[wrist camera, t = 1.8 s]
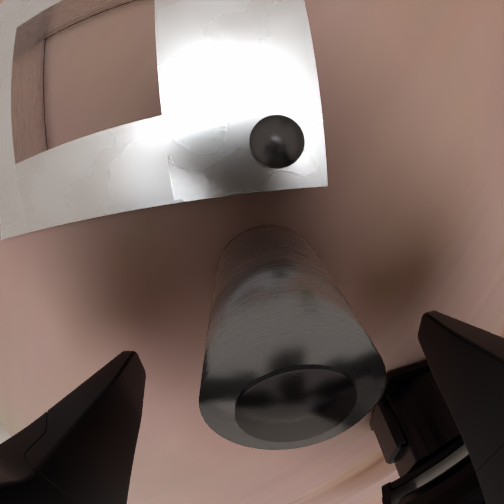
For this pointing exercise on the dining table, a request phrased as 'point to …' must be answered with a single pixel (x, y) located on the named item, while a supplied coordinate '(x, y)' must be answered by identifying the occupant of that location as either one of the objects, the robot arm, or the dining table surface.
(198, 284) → the dining table surface
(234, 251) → the cylinder
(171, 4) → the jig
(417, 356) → the dining table surface
